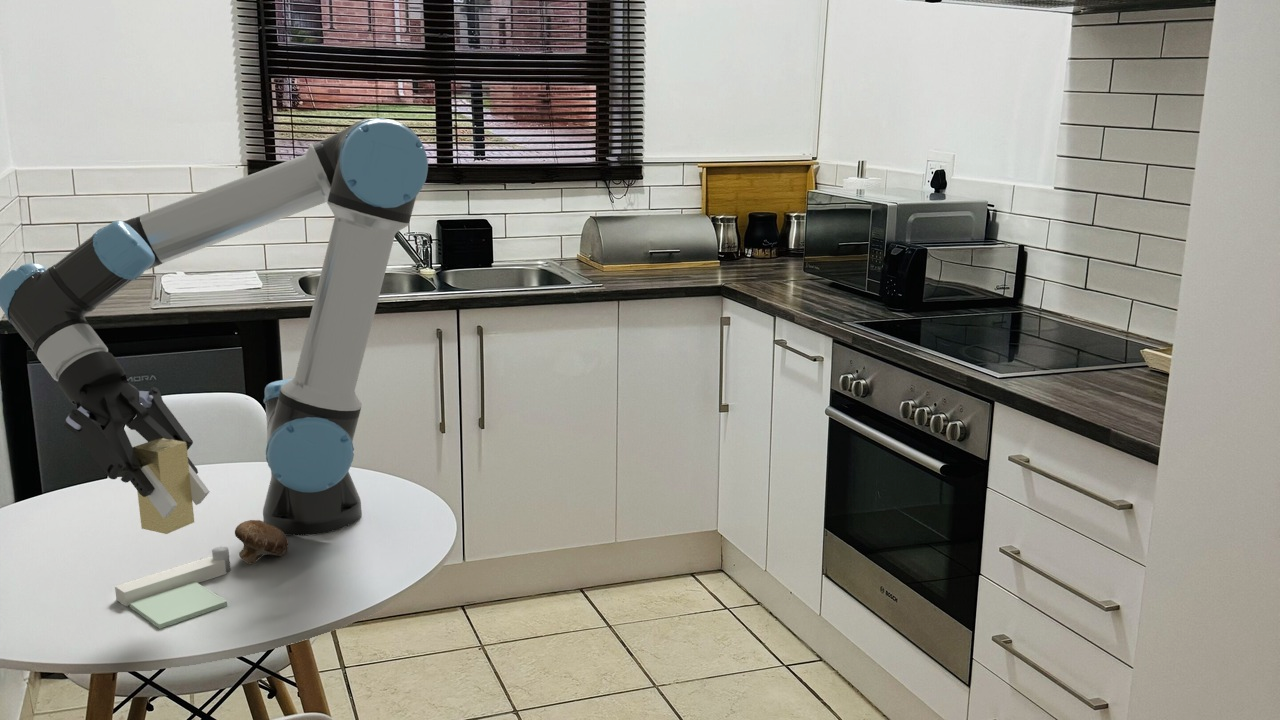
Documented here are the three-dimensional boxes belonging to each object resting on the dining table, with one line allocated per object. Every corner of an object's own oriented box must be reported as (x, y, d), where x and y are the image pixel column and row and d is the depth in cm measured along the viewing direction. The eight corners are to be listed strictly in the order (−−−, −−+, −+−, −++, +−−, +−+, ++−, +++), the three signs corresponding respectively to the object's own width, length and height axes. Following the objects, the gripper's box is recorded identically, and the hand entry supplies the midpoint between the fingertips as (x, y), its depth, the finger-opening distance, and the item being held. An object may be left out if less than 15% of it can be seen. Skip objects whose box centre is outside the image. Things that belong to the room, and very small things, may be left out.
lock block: (169, 516, 146) (161, 437, 143) (194, 522, 144) (186, 442, 141) (141, 528, 142) (132, 447, 139) (166, 534, 140) (157, 451, 137)
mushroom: (224, 553, 154) (243, 512, 156) (223, 554, 162) (242, 515, 164) (278, 574, 156) (297, 533, 158) (274, 574, 164) (292, 535, 166)
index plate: (195, 585, 151) (195, 581, 151) (227, 605, 146) (226, 601, 145) (130, 607, 145) (129, 603, 145) (159, 628, 139) (159, 624, 139)
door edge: (224, 565, 158) (222, 544, 157) (234, 571, 156) (232, 550, 155) (116, 599, 147) (113, 577, 147) (125, 606, 145) (123, 584, 145)
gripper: (127, 370, 153) (225, 499, 150) (9, 400, 137) (116, 545, 134) (150, 336, 149) (251, 467, 146) (32, 363, 134) (142, 511, 131)
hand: (186, 504), depth 140 cm, fingers closed on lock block, 4 cm apart
